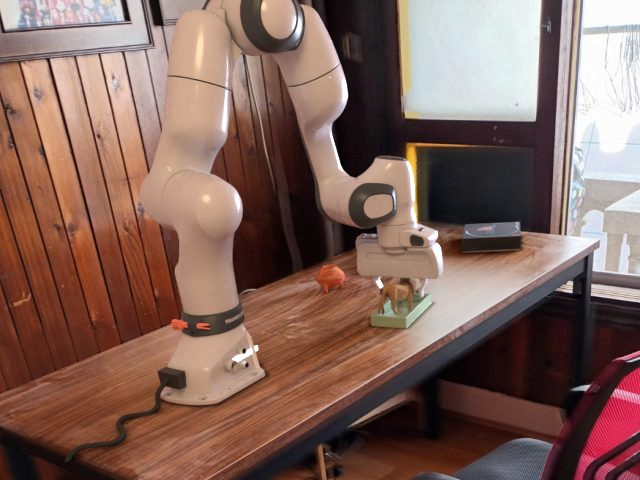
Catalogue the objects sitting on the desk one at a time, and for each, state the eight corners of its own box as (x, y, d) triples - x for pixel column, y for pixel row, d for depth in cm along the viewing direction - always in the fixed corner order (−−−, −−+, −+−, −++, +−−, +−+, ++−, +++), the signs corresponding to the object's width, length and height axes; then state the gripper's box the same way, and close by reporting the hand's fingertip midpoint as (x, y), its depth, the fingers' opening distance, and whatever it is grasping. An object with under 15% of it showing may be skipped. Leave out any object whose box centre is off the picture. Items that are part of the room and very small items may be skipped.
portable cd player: (463, 238, 231) (463, 224, 228) (519, 235, 228) (520, 221, 226) (460, 252, 217) (460, 238, 215) (520, 250, 215) (520, 235, 212)
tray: (406, 328, 170) (405, 318, 168) (371, 326, 173) (370, 315, 171) (431, 303, 182) (431, 293, 181) (398, 301, 186) (398, 291, 184)
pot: (308, 289, 198) (309, 263, 195) (331, 289, 203) (333, 263, 200) (326, 294, 193) (328, 267, 190) (350, 293, 198) (352, 267, 195)
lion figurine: (400, 309, 182) (400, 270, 179) (420, 310, 180) (421, 271, 177) (372, 316, 170) (372, 274, 167) (393, 317, 168) (394, 275, 164)
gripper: (349, 237, 169) (355, 297, 176) (435, 239, 161) (437, 302, 169) (360, 229, 173) (365, 289, 181) (444, 231, 166) (446, 293, 174)
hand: (401, 295), depth 175 cm, fingers open, 8 cm apart
